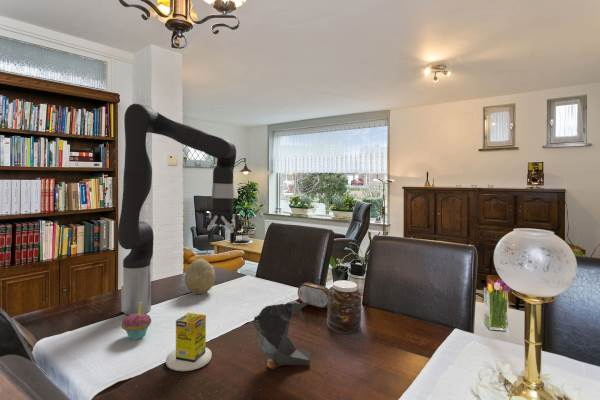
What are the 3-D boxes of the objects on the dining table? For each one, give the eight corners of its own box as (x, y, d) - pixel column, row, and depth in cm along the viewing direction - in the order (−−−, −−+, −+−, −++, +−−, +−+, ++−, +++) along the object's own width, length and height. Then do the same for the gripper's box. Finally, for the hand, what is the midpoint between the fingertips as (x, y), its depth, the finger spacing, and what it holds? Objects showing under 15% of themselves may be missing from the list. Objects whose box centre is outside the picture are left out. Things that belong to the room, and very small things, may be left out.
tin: (332, 308, 135) (333, 287, 134) (328, 311, 132) (329, 289, 132) (300, 300, 143) (300, 280, 142) (296, 302, 140) (296, 282, 140)
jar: (364, 323, 121) (366, 282, 120) (355, 337, 111) (357, 291, 110) (333, 317, 126) (334, 277, 125) (321, 329, 116) (322, 286, 115)
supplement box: (194, 363, 91) (194, 323, 90) (175, 359, 93) (175, 320, 92) (206, 352, 97) (206, 314, 96) (187, 349, 98) (187, 312, 98)
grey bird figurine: (258, 348, 102) (259, 289, 101) (309, 350, 102) (311, 291, 100) (250, 377, 88) (250, 308, 86) (309, 379, 87) (311, 310, 86)
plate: (156, 367, 91) (156, 362, 91) (184, 346, 102) (184, 342, 102) (194, 376, 87) (194, 371, 87) (219, 353, 99) (219, 349, 99)
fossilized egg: (192, 287, 156) (192, 255, 155) (219, 289, 154) (219, 256, 153) (179, 297, 143) (179, 261, 142) (208, 299, 141) (208, 263, 140)
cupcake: (157, 332, 111) (157, 296, 110) (137, 344, 103) (136, 305, 102) (136, 328, 113) (135, 293, 113) (114, 339, 105) (114, 301, 105)
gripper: (199, 195, 119) (198, 241, 120) (235, 198, 115) (234, 245, 116) (211, 194, 126) (210, 238, 128) (245, 197, 122) (244, 241, 123)
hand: (221, 241), depth 122 cm, fingers open, 8 cm apart
